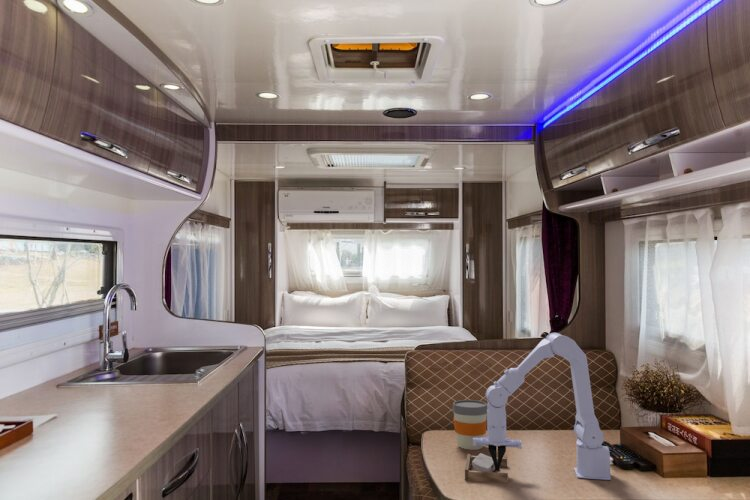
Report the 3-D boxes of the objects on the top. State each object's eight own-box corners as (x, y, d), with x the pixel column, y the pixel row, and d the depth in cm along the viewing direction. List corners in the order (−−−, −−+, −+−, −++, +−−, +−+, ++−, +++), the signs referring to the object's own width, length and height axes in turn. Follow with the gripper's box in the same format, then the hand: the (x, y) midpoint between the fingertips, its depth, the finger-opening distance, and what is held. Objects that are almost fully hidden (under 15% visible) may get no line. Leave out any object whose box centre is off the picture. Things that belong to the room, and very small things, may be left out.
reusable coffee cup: (494, 449, 194) (493, 406, 194) (460, 452, 191) (460, 408, 192) (479, 439, 206) (478, 398, 207) (447, 442, 203) (447, 400, 204)
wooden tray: (507, 465, 177) (506, 456, 177) (507, 483, 163) (507, 472, 163) (467, 463, 180) (467, 453, 180) (464, 479, 165) (464, 469, 165)
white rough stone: (484, 487, 169) (487, 472, 167) (466, 478, 172) (468, 463, 170) (496, 468, 176) (499, 454, 174) (478, 460, 180) (480, 446, 177)
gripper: (472, 427, 169) (473, 472, 168) (521, 430, 166) (522, 476, 165) (473, 421, 176) (474, 465, 175) (520, 424, 173) (521, 468, 172)
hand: (497, 470), depth 171 cm, fingers closed
